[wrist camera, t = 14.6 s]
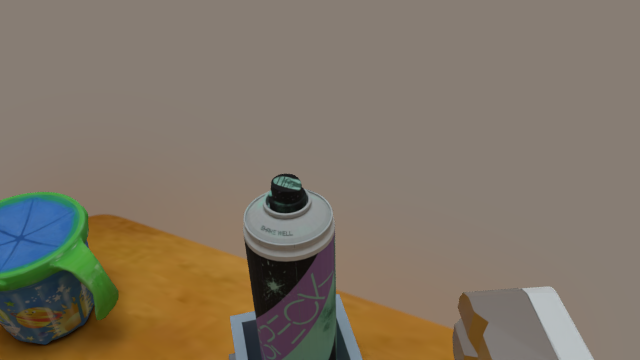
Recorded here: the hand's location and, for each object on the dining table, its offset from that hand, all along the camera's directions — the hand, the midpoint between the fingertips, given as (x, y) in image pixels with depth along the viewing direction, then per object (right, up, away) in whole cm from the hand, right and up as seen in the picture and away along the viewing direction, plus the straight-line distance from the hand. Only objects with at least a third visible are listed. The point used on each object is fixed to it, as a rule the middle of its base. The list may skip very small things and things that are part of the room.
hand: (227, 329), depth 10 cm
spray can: (0, -14, +33) cm, 36 cm away
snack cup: (-23, -10, +41) cm, 48 cm away
